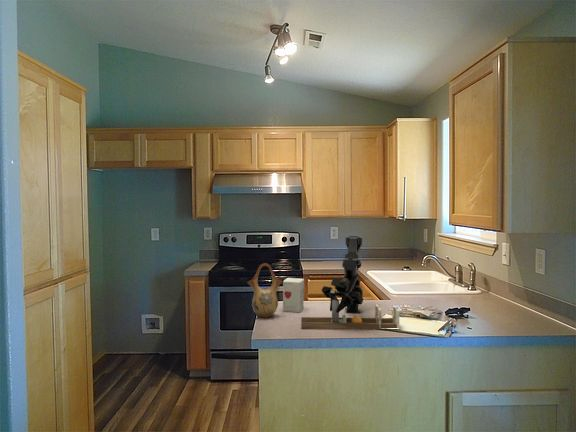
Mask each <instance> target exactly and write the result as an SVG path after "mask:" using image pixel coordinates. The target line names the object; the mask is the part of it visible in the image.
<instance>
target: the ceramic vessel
mask: <svg viewBox="0 0 576 432" xmlns="http://www.w3.org/2000/svg"><path fill="white" fill-rule="evenodd" d="M262 267H267V268H269V269H268V270H269V271H270V275H271V280H272V281H271V282H272V283H271V285H270V287H268V288H266V289H263V288H261V287H260V285H259V283H258V279H259V274H260V271H261V269H262ZM246 283H247V284H248V285H249V286H250V287H251V288H252V291H253V297H252V300H251V306H252V310H253V312H254V313H255V314H256V316H258V317H260V318H271V316H273V315H274V314H275V313H276V311H277V309H278V305H279V299H278V296H277V290H278V288H279V287H280V285H281V284H283V281H282V280H281V279H278V278H277V276H276V275H275V272H274V270H273V269H272V266H271V265H270V264H269V263H266V262H265V263H261V264H260V265H259V266H258V268H257V270H256V273H255V275H254V276H253V277H252V279H251V280H248V281H247V282H246Z"/></svg>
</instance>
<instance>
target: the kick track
mask: <svg viewBox="0 0 576 432" xmlns="http://www.w3.org/2000/svg"><path fill="white" fill-rule="evenodd" d="M374 306H375V307H374V311H375V312H374V315H375V316H374V317H360V318H361V320H362V323H352V318H353V317H346V323H331V319H332V316H328V317H327V316H325V317H323V316H321V317H320V316H318V317H317V316H316V317H315V316H314V317H313V316H301V318H300V320H301V322H300V323H301V324H300V325H301V326H300V327H301V329H302V330H368V331H370V330H373V329H381V328H399V329H400V312H401V311H400V310H399V309H398V307H396V306H395V305H392V311H391V312H392V317H382V308H381V307H380V306H379V304H377V303H376V304H375V305H374ZM339 319H342V317H339ZM373 331H374V330H373Z"/></svg>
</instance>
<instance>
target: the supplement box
mask: <svg viewBox="0 0 576 432" xmlns="http://www.w3.org/2000/svg"><path fill="white" fill-rule="evenodd" d="M304 286H305V279H304V278H295V277H287V278H285V279H284V280H283V281H282V311H283V312H293V313H301V312H302V311H303V309H304V306H305V305H304V303H305V301H304V299H305V296H304V293H305V291H304V290H305V289H304V288H305V287H304Z"/></svg>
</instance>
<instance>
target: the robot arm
mask: <svg viewBox="0 0 576 432" xmlns="http://www.w3.org/2000/svg"><path fill="white" fill-rule="evenodd" d="M345 246H346V248H347V249H346V251H347V253H346V254H345V255H344V259H342V266H341V267H342V268H343V272H344V273H343V274H344V275H343V277H342V278H336V277H332V279H331V283H330V285H331V286H333V287H334V289H333V288H332V287H331V286H327V285H324V286H322V288H321V292H322V294H323V295H324V297H325V298H328V299H330V303H329V304H330V305H329V311H330V312H332V300H339V299H338V298H339V297H341V300H340V301H339V306H338V308H337V311H336V312H337V313H338V312H339V313H340V312H341V311H343V310H344V309H345V312H346V313H349V314H350V313H354V314H355V313H356V314H358V313H359V314H360V313H361V311H360V309H359V306H360V305H362V304H363V302H364V298H363V295H364V293H363V289H362V287H361V285H360V284H361V282H360V281H359V279H358V278H359V272H358V271H359V269H360V268H361V267H362V262H361V260H360V259H359V258H360V257H359V254H360V252H361V251H362V250H361V249H362V247H363V238H362V237H359V236H357V235H349V236H347V237H345Z"/></svg>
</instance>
